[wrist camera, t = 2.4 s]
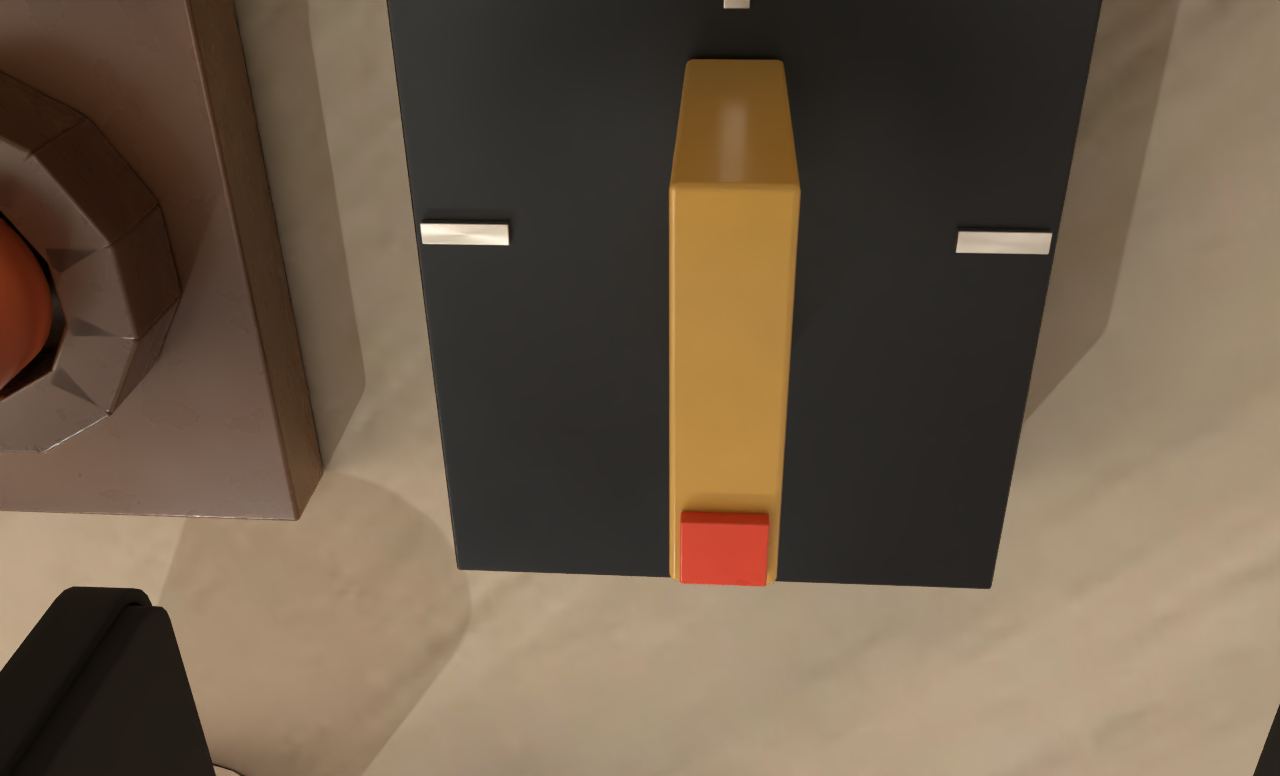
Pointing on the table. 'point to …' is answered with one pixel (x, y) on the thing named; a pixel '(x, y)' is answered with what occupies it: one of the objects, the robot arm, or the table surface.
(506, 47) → the plate
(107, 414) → the button block
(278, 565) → the table surface
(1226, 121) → the table surface
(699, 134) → the yellow flat block
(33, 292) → the button
